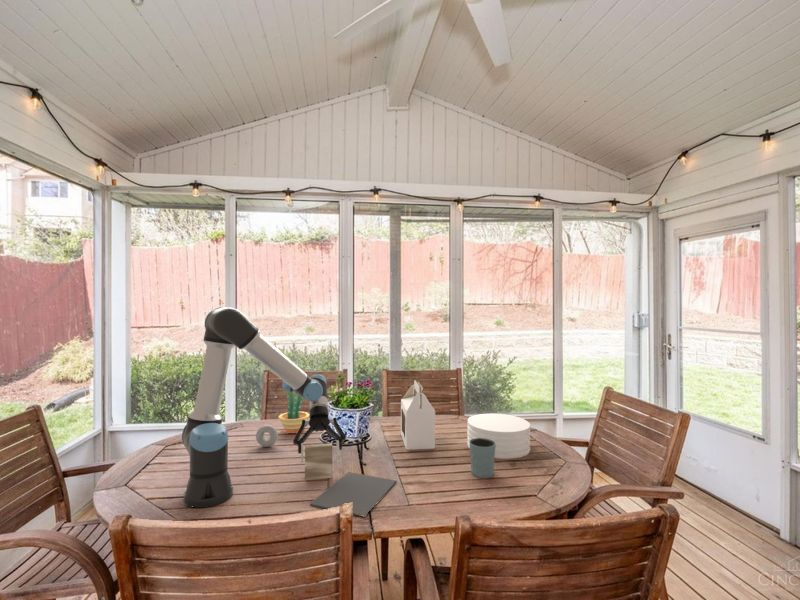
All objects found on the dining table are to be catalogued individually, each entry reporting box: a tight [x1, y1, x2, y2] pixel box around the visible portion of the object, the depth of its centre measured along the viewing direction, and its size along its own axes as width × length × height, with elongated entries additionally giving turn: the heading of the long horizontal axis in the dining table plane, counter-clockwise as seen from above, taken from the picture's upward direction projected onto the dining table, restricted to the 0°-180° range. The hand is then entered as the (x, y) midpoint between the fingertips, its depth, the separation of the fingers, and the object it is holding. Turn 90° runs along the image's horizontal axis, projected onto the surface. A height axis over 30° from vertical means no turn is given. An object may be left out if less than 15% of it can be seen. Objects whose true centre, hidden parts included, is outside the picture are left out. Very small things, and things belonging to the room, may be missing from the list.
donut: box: [255, 424, 279, 448], centre depth 183 cm, size 10×4×10 cm, turn 89°
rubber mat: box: [309, 471, 397, 516], centre depth 139 cm, size 26×20×1 cm
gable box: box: [400, 379, 436, 451], centre depth 191 cm, size 22×13×28 cm, turn 6°
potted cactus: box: [278, 391, 310, 434], centre depth 205 cm, size 15×15×25 cm
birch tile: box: [304, 442, 333, 481], centre depth 152 cm, size 3×10×12 cm, turn 104°
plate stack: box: [466, 413, 531, 460], centre depth 184 cm, size 28×28×12 cm
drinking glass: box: [469, 438, 496, 479], centre depth 156 cm, size 10×10×12 cm
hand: (320, 459), depth 152 cm, fingers open, 13 cm apart
